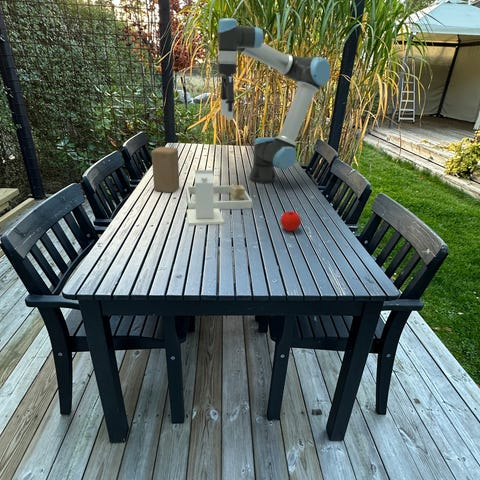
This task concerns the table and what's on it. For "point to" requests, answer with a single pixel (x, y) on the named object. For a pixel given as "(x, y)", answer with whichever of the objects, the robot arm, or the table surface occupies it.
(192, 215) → the tile
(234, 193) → the oak block
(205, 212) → the milk carton
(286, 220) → the apple
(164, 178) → the wooden block
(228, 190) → the rectangular frame
